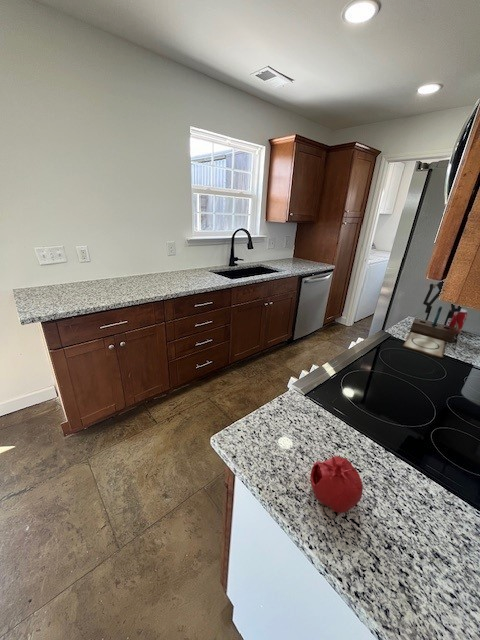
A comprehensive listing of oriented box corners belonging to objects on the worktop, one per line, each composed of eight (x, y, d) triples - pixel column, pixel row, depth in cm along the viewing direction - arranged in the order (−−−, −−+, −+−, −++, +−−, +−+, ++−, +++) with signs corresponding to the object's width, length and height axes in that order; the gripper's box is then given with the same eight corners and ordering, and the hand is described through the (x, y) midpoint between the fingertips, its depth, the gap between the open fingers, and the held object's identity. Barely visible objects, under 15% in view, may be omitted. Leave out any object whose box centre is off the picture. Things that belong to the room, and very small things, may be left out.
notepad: (445, 342, 118) (446, 341, 118) (442, 358, 105) (442, 357, 105) (409, 332, 126) (410, 331, 126) (402, 346, 113) (403, 345, 113)
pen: (432, 334, 125) (442, 306, 121) (432, 335, 124) (442, 306, 120) (429, 333, 126) (439, 305, 121) (429, 334, 125) (439, 306, 120)
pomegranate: (366, 494, 55) (377, 463, 51) (343, 531, 48) (354, 499, 45) (323, 462, 61) (330, 432, 57) (298, 491, 55) (304, 460, 51)
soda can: (457, 337, 123) (466, 313, 118) (439, 332, 128) (448, 309, 123) (461, 333, 127) (470, 310, 122) (444, 328, 132) (452, 305, 127)
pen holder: (412, 327, 132) (415, 317, 130) (453, 337, 123) (456, 327, 121) (409, 331, 127) (412, 322, 125) (452, 343, 118) (456, 333, 116)
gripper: (425, 270, 116) (410, 318, 125) (483, 278, 105) (461, 330, 114) (427, 267, 121) (412, 313, 131) (482, 275, 110) (462, 325, 120)
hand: (435, 321), depth 122 cm, fingers open, 6 cm apart
